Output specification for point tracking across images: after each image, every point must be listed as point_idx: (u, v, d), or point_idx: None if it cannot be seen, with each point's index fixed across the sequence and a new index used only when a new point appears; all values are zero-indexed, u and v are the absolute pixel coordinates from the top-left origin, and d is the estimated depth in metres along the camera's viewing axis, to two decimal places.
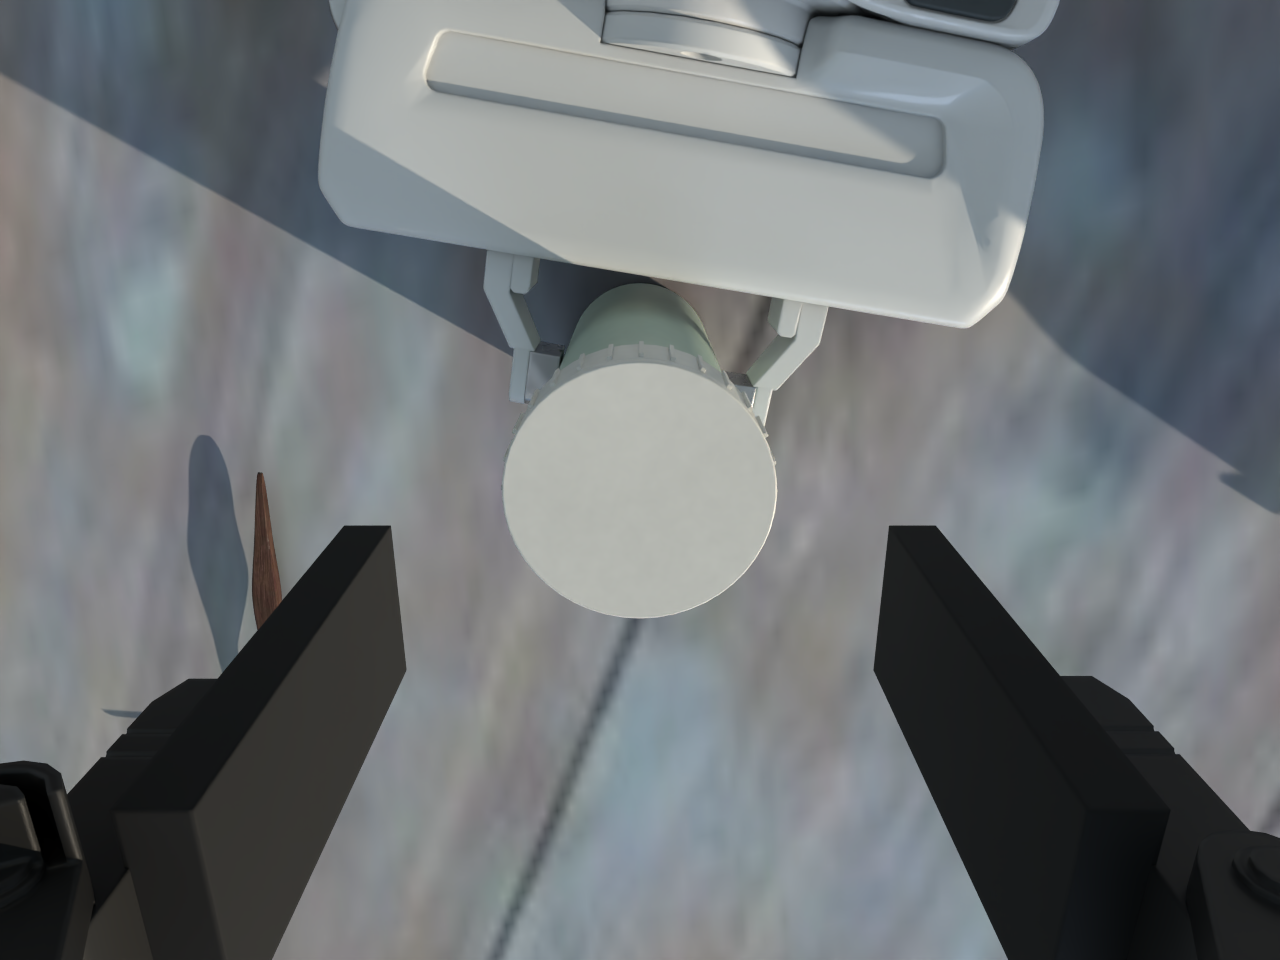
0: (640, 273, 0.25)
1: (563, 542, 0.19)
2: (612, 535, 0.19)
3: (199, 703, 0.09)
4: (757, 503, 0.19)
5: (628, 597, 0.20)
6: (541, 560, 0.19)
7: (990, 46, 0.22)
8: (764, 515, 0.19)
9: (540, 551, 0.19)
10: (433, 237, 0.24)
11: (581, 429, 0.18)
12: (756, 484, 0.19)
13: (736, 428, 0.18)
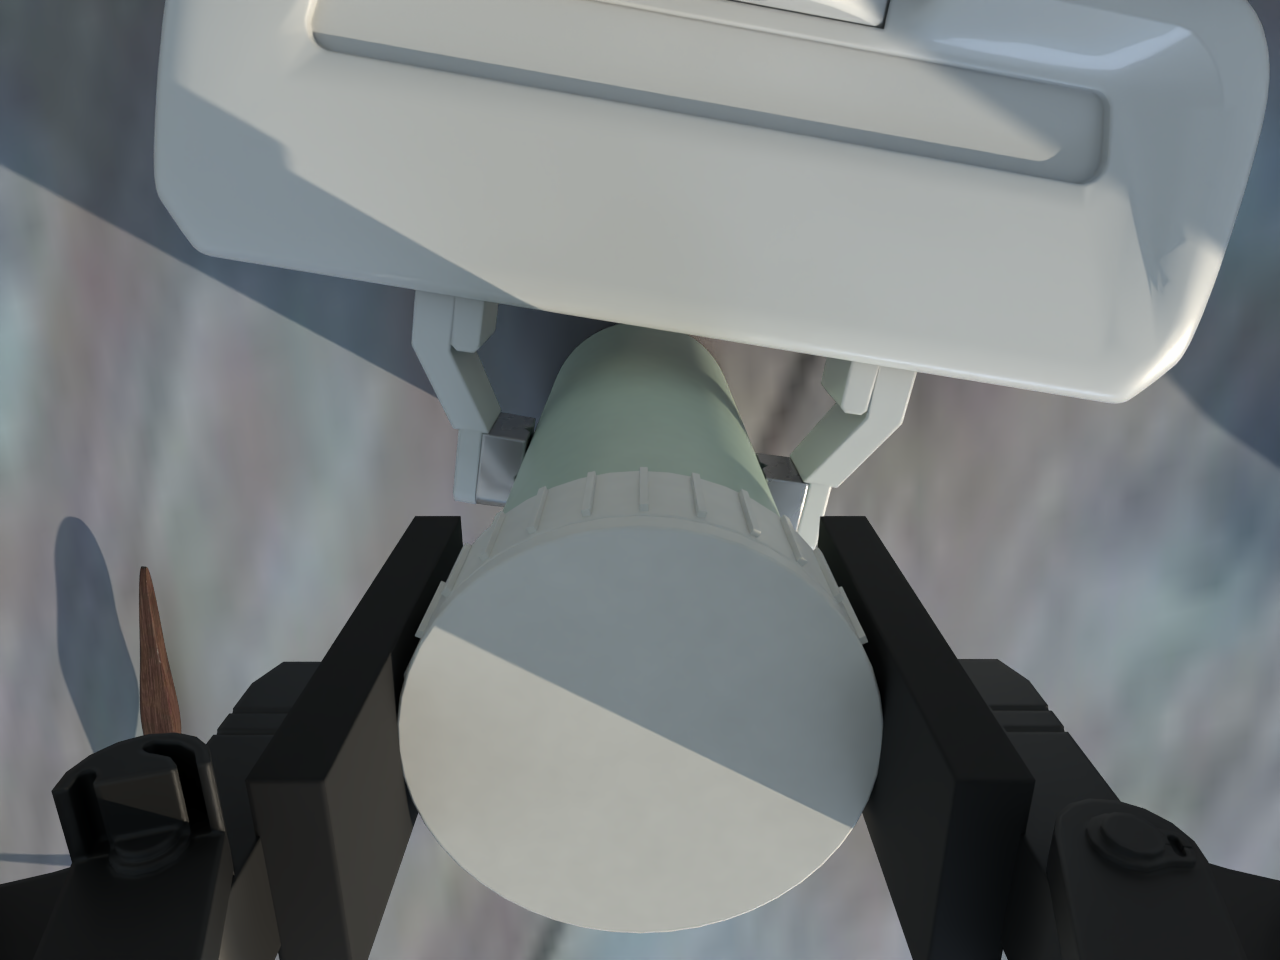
0: (642, 324, 0.17)
1: (508, 819, 0.11)
2: (593, 809, 0.11)
3: (310, 683, 0.10)
4: (848, 760, 0.11)
5: (621, 902, 0.11)
6: (470, 847, 0.11)
7: None
8: (860, 779, 0.11)
9: (468, 834, 0.11)
10: (332, 272, 0.16)
11: (535, 641, 0.10)
12: (848, 730, 0.10)
13: (816, 639, 0.10)
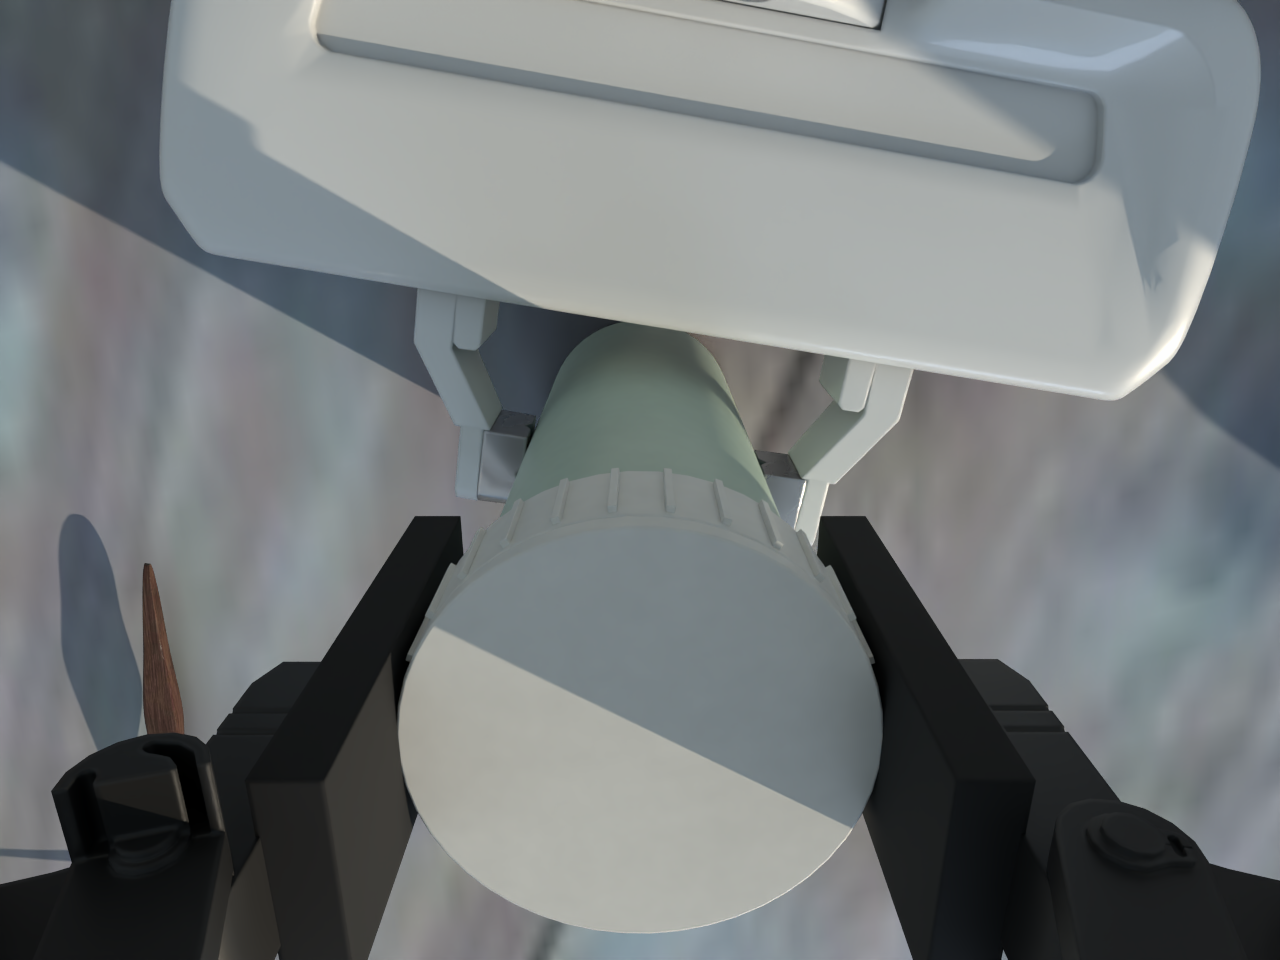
0: (641, 322, 0.17)
1: (782, 806, 0.11)
2: (727, 751, 0.11)
3: (310, 682, 0.10)
4: (528, 587, 0.10)
5: (825, 672, 0.10)
6: (833, 816, 0.11)
7: None
8: (540, 563, 0.10)
9: (818, 826, 0.11)
10: (335, 270, 0.17)
11: (591, 869, 0.11)
12: (499, 608, 0.10)
13: (437, 688, 0.10)
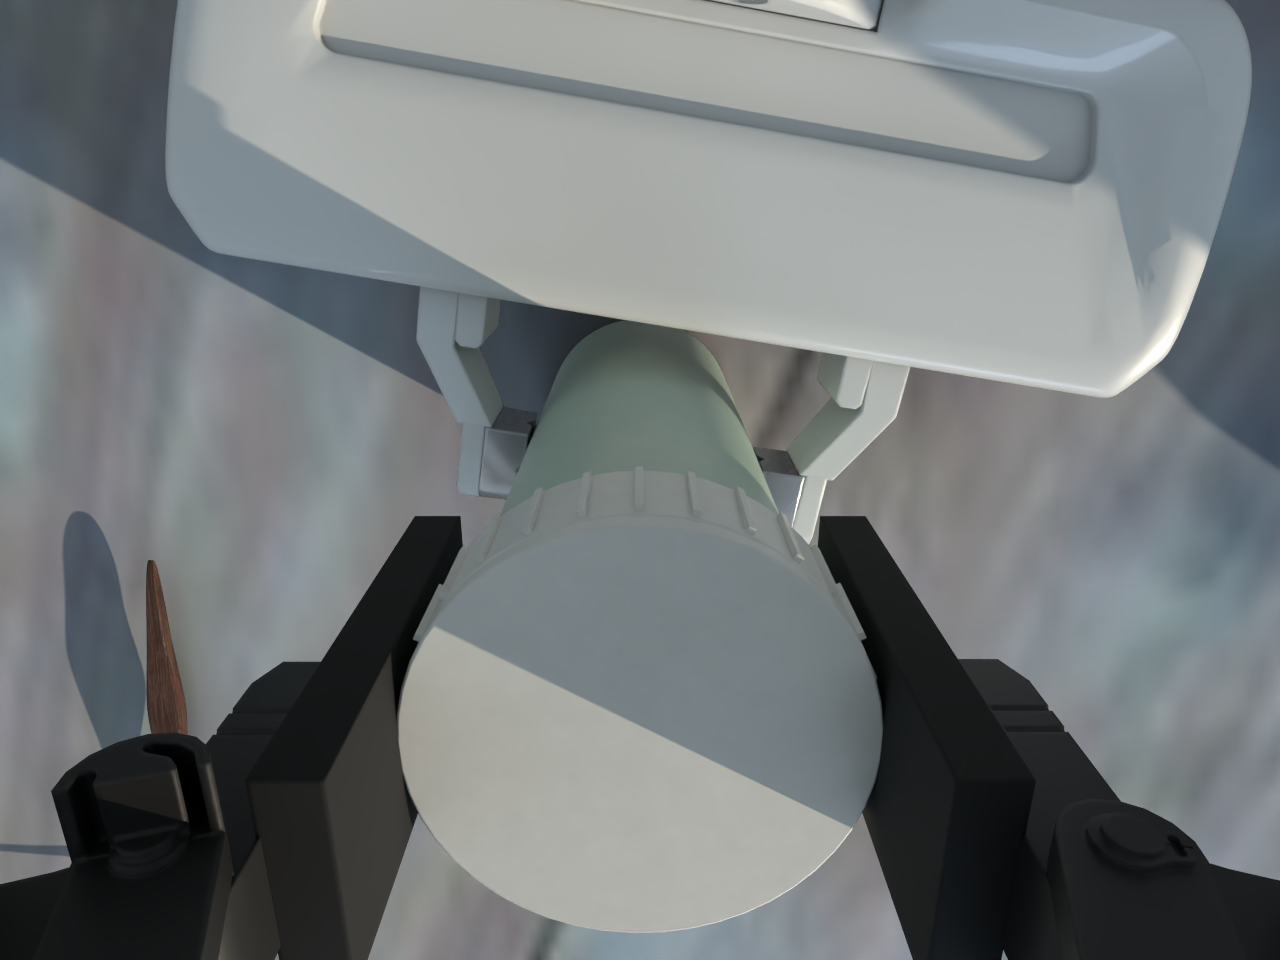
0: (641, 320, 0.17)
1: (616, 607, 0.10)
2: (592, 686, 0.10)
3: (310, 682, 0.10)
4: (548, 893, 0.11)
5: (460, 662, 0.10)
6: (598, 555, 0.10)
7: None
8: (524, 895, 0.11)
9: (617, 563, 0.10)
10: (339, 269, 0.17)
11: (797, 718, 0.10)
12: (580, 902, 0.11)
13: (681, 907, 0.11)
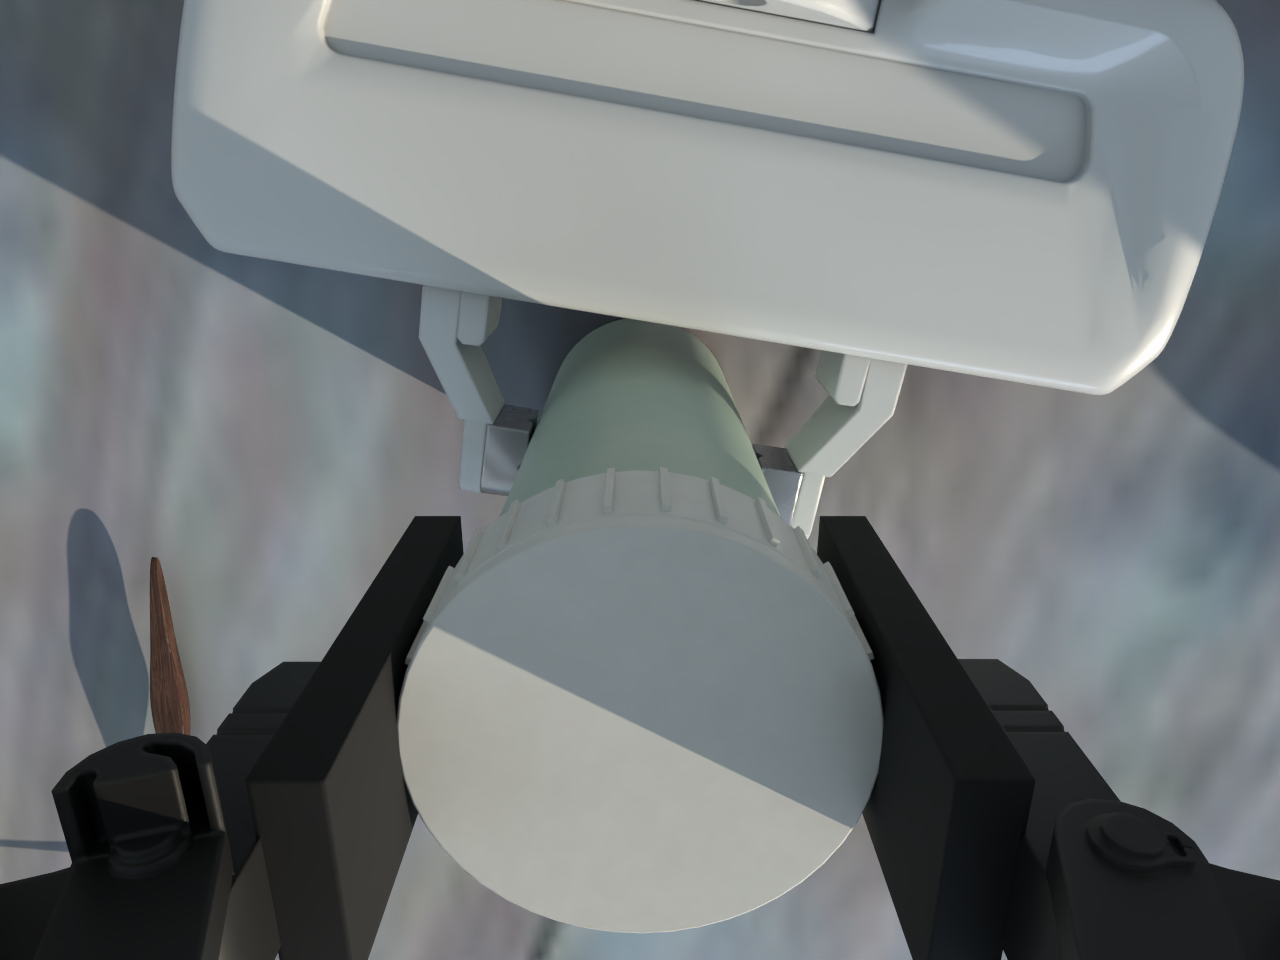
0: (641, 318, 0.17)
1: (521, 833, 0.11)
2: (603, 814, 0.11)
3: (310, 682, 0.10)
4: (850, 736, 0.10)
5: (646, 903, 0.11)
6: (489, 864, 0.11)
7: None
8: (865, 753, 0.11)
9: (485, 852, 0.11)
10: (342, 267, 0.17)
11: (518, 654, 0.10)
12: (845, 706, 0.10)
13: (797, 618, 0.10)
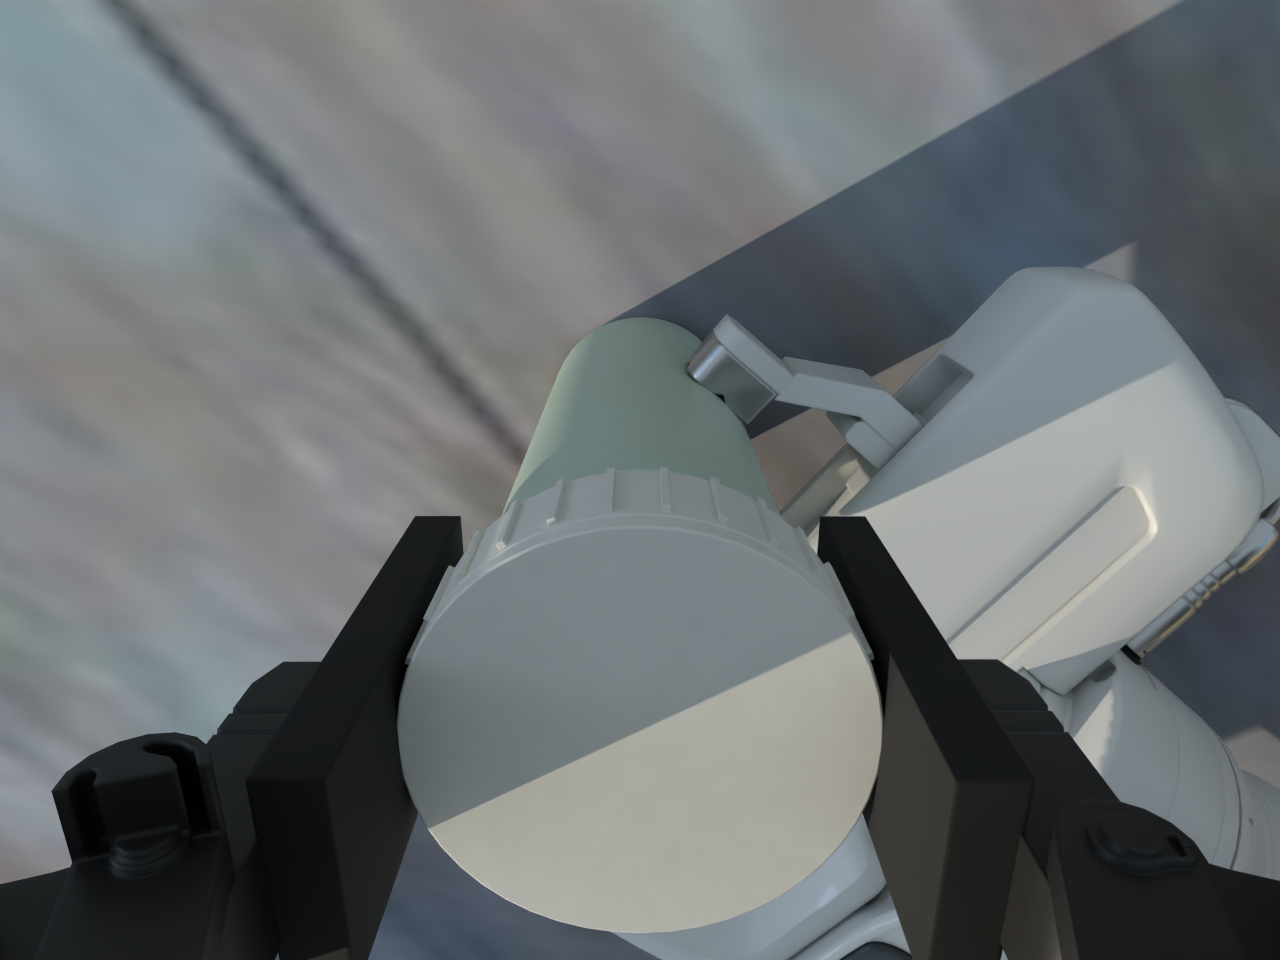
0: None
1: (521, 833, 0.11)
2: (603, 814, 0.11)
3: (310, 682, 0.10)
4: (850, 736, 0.10)
5: (646, 903, 0.11)
6: (489, 864, 0.11)
7: None
8: (865, 753, 0.11)
9: (484, 851, 0.11)
10: (986, 385, 0.18)
11: (519, 654, 0.10)
12: (845, 706, 0.10)
13: (797, 618, 0.10)
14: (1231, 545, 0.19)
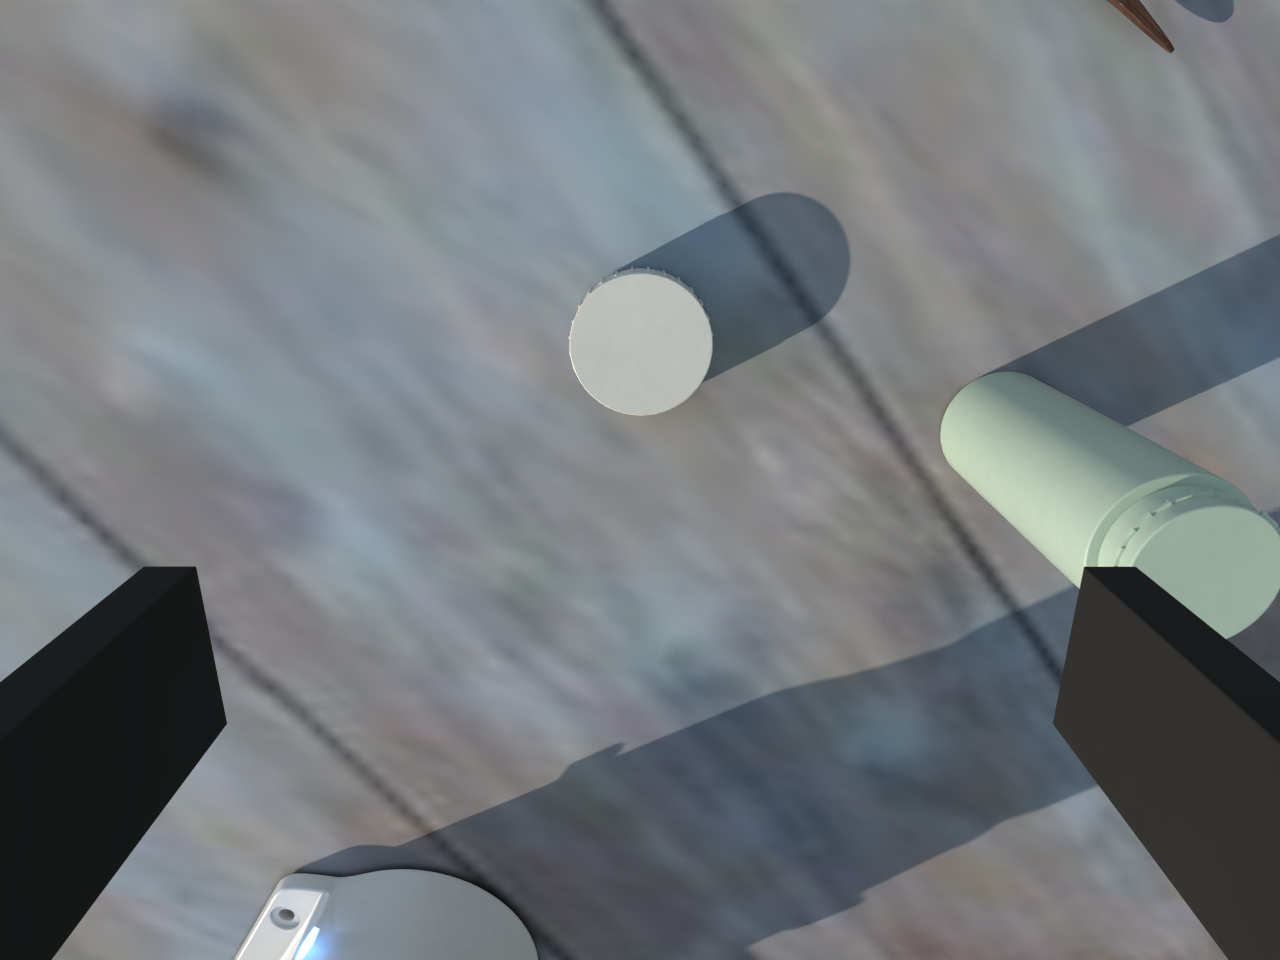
0: None
1: (605, 376, 0.36)
2: (630, 369, 0.36)
3: None
4: (702, 341, 0.36)
5: (643, 403, 0.37)
6: (595, 388, 0.37)
7: None
8: (707, 347, 0.36)
9: (593, 383, 0.36)
10: None
11: (606, 313, 0.35)
12: (700, 330, 0.36)
13: (685, 302, 0.35)
14: None
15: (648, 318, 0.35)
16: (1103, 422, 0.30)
